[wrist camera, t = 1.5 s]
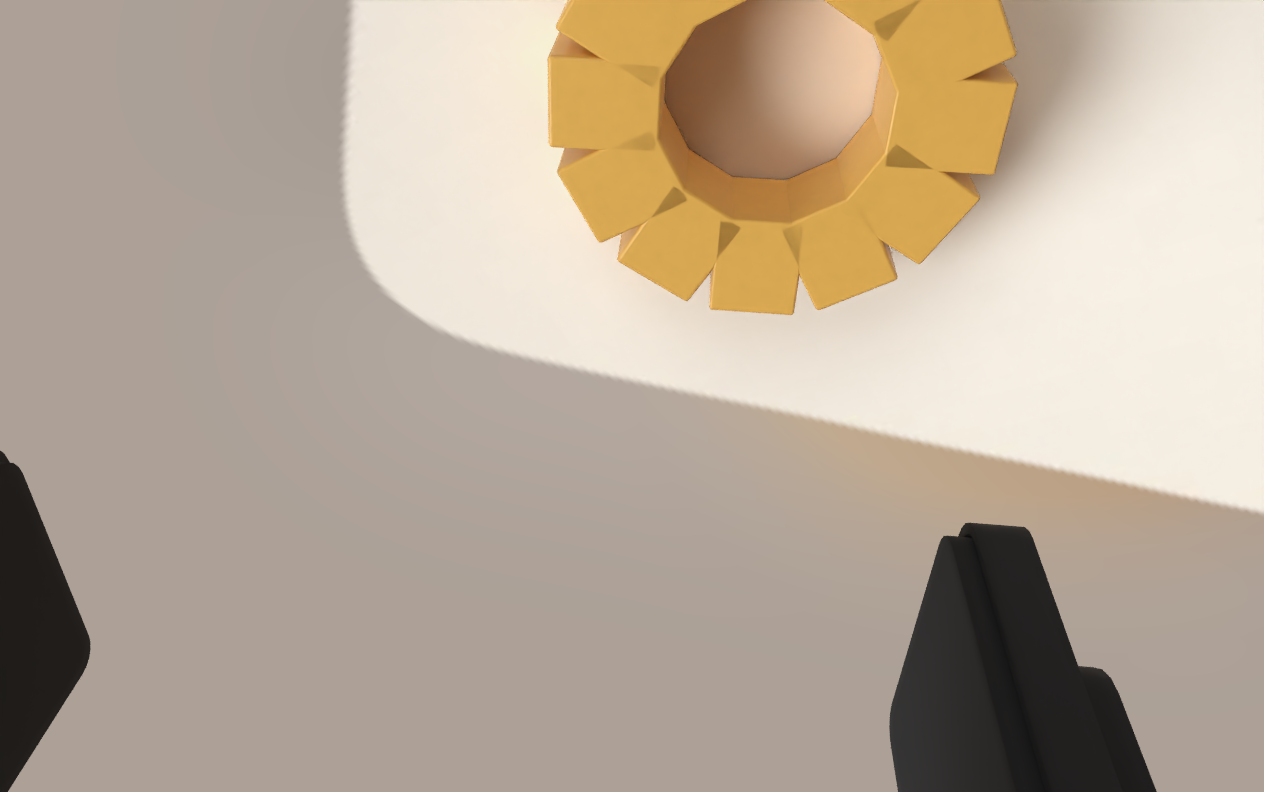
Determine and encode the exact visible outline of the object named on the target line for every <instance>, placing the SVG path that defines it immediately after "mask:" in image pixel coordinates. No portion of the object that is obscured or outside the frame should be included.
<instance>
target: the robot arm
mask: <svg viewBox="0 0 1264 792" xmlns="http://www.w3.org/2000/svg"><path fill="white" fill-rule="evenodd" d="M89 654H90V639H89V635H88V633H87V630H86V628H85V625H84V623H83V621H82V618H81V615H80V613H79V610H78V608H77V605H76V603H75V601H74V598H73V596H72V593H71V591H70V588H69V586H68V583H67V581H66V579H65V576H64V574H63V571H62V569H61V566H60V564H59V561H58V559H57V556H56V554H55V551H54V549H53V547H52V544H51V542H50V539H49V537H48V534H47V532H46V529H45V527H44V525H43V522H42V520H41V517H40V515H39V512H38V510H37V507H36V505H35V503H34V500H33V497H32V495H31V493H30V490H29V488H28V485H27V483H26V480H25V478H24V475H23V473H22V472H21V470H20V468H19V467H18V466H16V465H15V464H14V463H10V462H9V461H8V459H7V457H6V456H5V454H4V453H3V452H1V451H0V792H8V790H9V789H10V787H11V786H12V784H13V783H14V781H15V779H16V778H17V776H18V775H19V773H20V771H21V770H22V768H23V767H24V765H25V764H26V762H27V760H28V759H29V757H30V756H31V754H32V753H33V751H34V750H35V748H36V746H37V745H38V743H39V742H40V740H41V739H42V737H43V735H44V734H45V732H46V731H47V729H48V727H49V726H50V724H51V723H52V721H53V720H54V718H55V716H56V715H57V713H58V712H59V710H60V709H61V707H62V705H63V704H64V702H65V701H66V699H67V698H68V696H69V694H70V693H71V691H72V690H73V688H74V687H75V685H76V683H77V682H78V680H79V679H80V677H81V676H82V674H83V672H84V670H85V668H86V666H87V663H88V660H89ZM890 742H891V749H892V755H893V761H894V768H895V775H896V781H897V787H898V792H1156V789H1155V787H1154V784H1153V781H1152V779H1151V776H1150V774H1149V771H1148V768H1147V766H1146V763H1145V760H1144V758H1143V755H1142V753H1141V750H1140V747H1139V745H1138V742H1137V740H1136V737H1135V734H1134V732H1133V729H1132V727H1131V724H1130V721H1129V719H1128V717H1127V714H1126V711H1125V708H1124V706H1123V703H1122V701H1121V698H1120V695H1119V693H1118V691H1117V689H1116V687H1115V685H1114V683H1113V681H1112V679H1111V678H1110V677H1109V676H1108V675H1107V674H1106V673H1105V672H1104V671H1103V670H1102V669H1097V668H1094V667H1082V666H1078V665H1077V662H1076V659H1075V656H1074V653H1073V650H1072V647H1071V645H1070V642H1069V639H1068V636H1067V633H1066V631H1065V628H1064V625H1063V622H1062V619H1061V616H1060V614H1059V611H1058V608H1057V606H1056V602H1055V600H1054V597H1053V594H1052V591H1051V588H1050V586H1049V583H1048V581H1047V577H1046V574H1045V571H1044V569H1043V566H1042V563H1041V560H1040V557H1039V555H1038V552H1037V549H1036V546H1035V543H1034V540H1033V538H1032V536H1031V534H1030V532H1029V531H1028V530H1027V529H1026V528H1025V527H1016V526H1004V525H991V524H978V523H965V525H964V526H963V527H962V528H961V531H960V534H959V536H958V537H956V536H944V537H943V538H942V539H941V541H940V544H939V547H938V550H937V554H936V557H935V560H934V564H933V567H932V570H931V574H930V577H929V581H928V584H927V587H926V591H925V594H924V598H923V601H922V604H921V608H920V611H919V614H918V618H917V621H916V624H915V628H914V631H913V634H912V638H911V641H910V645H909V648H908V651H907V655H906V658H905V661H904V665H903V668H902V672H901V675H900V678H899V682H898V685H897V689H896V692H895V696H894V699H893V702H892V706H891V712H890Z"/></svg>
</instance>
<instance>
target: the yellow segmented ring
mask: <svg viewBox="0 0 1264 792" xmlns="http://www.w3.org/2000/svg"><path fill="white" fill-rule="evenodd" d="M745 1H747V0H568V1H567V3H566V5H565V7H564V9H563V11H562V14H561V16H560V18H559V20H558V22H557V25H556V28H557V30H558V31H559V34H558V36H557V38H556V41H555V43H554V45H553V47H552V50H551V52H550V54H549V57H548V118H549V145H550V146H551V147H562V148H564V151H563V154H562V157H561V160H560V164H559V167H558V170H557V173H558V175H559V177H560V178H561V180H562V182H563V183H564V185H565V187H566V188H567V190H568V192H569V193H570V195H571V197H572V198H573V200H574V202H575V203H576V205H577V207H578V208H579V210H580V212H581V214H582V215H583V217H584V219H585V220H586V222H587V224H588V225H589V227H590V229H591V230H592V232H593V234H594V235H595V237H596V239H597V240H598V241H599V242H604V241H606V240H608V239H610V238H613V237H615V236H617V235H619V234H622V236H621V241H620V247H619V253H618V258H617V260H618V261H619V262H620V263H622V264H624V265H625V266H627V267H629V268H630V269H632V270H634V271H635V272H637V273H639V274H641V275H642V276H644V277H646V278H647V279H649V280H651V281H652V282H654V283H656V284H658V285H659V286H661V287H663V288H664V289H666V290H668V291H669V292H671V293H673V294H674V295H676V296H678V297H680V298H681V299H683V300H685V301H688V300H689V299H690V298H691V296H692V295H693V294H694V293H695V291H696V290H697V289H698V287H699V286H700V285H701V284H702V282H703V281H704V280H705V279H706V277H707V276H708V275H709V273H710V306H709V307H710V309H712V310H727V311H742V312H757V313H771V314H786V315H792V314H793V313H794V308H795V301H796V294H797V288H798V281H799V275H800V277H801V279H802V281H803V283H804V285H805V287H806V289H807V291H808V294H809V296H810V298H811V300H812V302H813V304H814V306H815V308H816V309H817V310H821V309H823V308H826V307H828V306H831V305H833V304H836V303H839V302H841V301H844V300H846V299H849V298H851V297H854V296H856V295H859V294H861V293H864V292H866V291H869V290H872V289H874V288H877V287H879V286H882V285H884V284H887V283H889V282H892V281H894V280H896V279H897V273H896V269H895V266H894V262H893V259H892V255H891V252H890V248H889V246H891V247H892V248H894V249H895V250H897V251H899V252H900V253H902V254H903V255H905V256H906V257H908V258H909V259H911V260H912V261H914V262H916V263H917V264H920V263H921V262H922V261H923V260H924V259H925V258H926V257H927V256H928V255H929V254H930V253H931V252H932V251H933V249H934V248H935V247H936V246H937V245H938V244H939V243H940V242H941V241H942V240H943V239H944V238H945V236H946V235H947V234H948V233H949V232H950V231H951V230H952V229H953V228H954V227H955V226H956V225H957V224H958V222H959V221H960V220H961V219H962V218H963V217H964V216H965V215H966V214H967V213H968V212H969V211H970V209H971V208H972V207H973V206H974V205H975V204H976V203H977V202H978V201H979V199H980V196H979V194H978V192H977V190H976V188H975V186H974V184H973V182H972V180H971V178H970V175H969V173H972V174H988V175H993V174H994V173H995V170H996V166H997V162H998V159H999V155H1000V151H1001V147H1002V143H1003V139H1004V136H1005V132H1006V128H1007V124H1008V120H1009V116H1010V113H1011V109H1012V105H1013V101H1014V97H1015V93H1016V89H1017V86H1018V85H1017V82H1016V81H1015V79H1014V78H1013V76H1012V75H1011V74H1010V72H1009V71H1008V69H1007V68H1006V66H1005V65H1004V64H1003V62H1004V61H1006V60H1008V59H1010V58H1012V57H1014V56H1016V53H1017V51H1016V48H1015V45H1014V41H1013V38H1012V35H1011V32H1010V29H1009V26H1008V22H1007V19H1006V16H1005V13H1004V10H1003V6H1002V3H1001V0H825V1H826V2H827V3H829V4H830V5H832V6H833V7H834V8H836V9H837V10H839V11H840V12H841V13H843V14H844V15H846V16H847V17H848V18H850V19H851V20H853V21H854V22H855V23H857V24H858V25H860V26H861V27H862V28H864V29H865V30H867V31H868V32H869V33H871V34H872V35H873V37H874V39H875V42H876V44H877V47H878V49H879V52H880V55H881V57H882V59H881V65H880V70H879V76H878V82H877V87H876V93H875V98H874V104H873V110H872V114H871V116H870V117H869V118H868V119H867V120H866V122H865V123H864V124H863V125H862V127H861V128H860V129H859V130H858V132H857V133H856V134H855V135H854V137H853V138H852V139H851V140H850V142H849V143H848V144H847V145H846V147H845V148H844V149H843V150H842V152H841V153H840V154H839V155H838V157H837V158H835V159H833V160H831V161H829V162H826V163H824V164H822V165H820V166H817V167H815V168H813V169H811V170H808V171H806V172H804V173H802V174H799V175H797V176H795V177H793V178H790V179H788V180H777V179H761V178H745V177H732V176H730V175H729V174H727V173H726V172H724V171H723V170H721V169H719V168H718V167H716V166H715V165H713V164H712V163H710V162H708V161H707V160H705V159H704V158H702V157H701V156H699V155H697V154H696V153H694V152H693V151H691V150H690V149H688V147H687V145H686V143H685V141H684V139H683V137H682V135H681V133H680V131H679V129H678V127H677V125H676V123H675V121H674V119H673V117H672V115H671V114H670V112H669V110H668V108H667V106H666V104H665V102H664V100H665V82H666V73H667V71H668V70H669V68H670V67H671V65H672V64H673V62H674V61H675V59H676V58H677V56H678V54H679V53H680V51H681V50H682V48H683V47H684V45H685V44H686V42H687V41H688V39H689V38H690V36H691V35H692V33H693V32H694V30H695V29H696V27H697V26H698V25H700V24H702V23H704V22H706V21H708V20H710V19H711V18H713V17H715V16H717V15H719V14H721V13H723V12H725V11H727V10H729V9H731V8H733V7H735V6H737V5H739V4H741V3H743V2H745Z"/></svg>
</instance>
